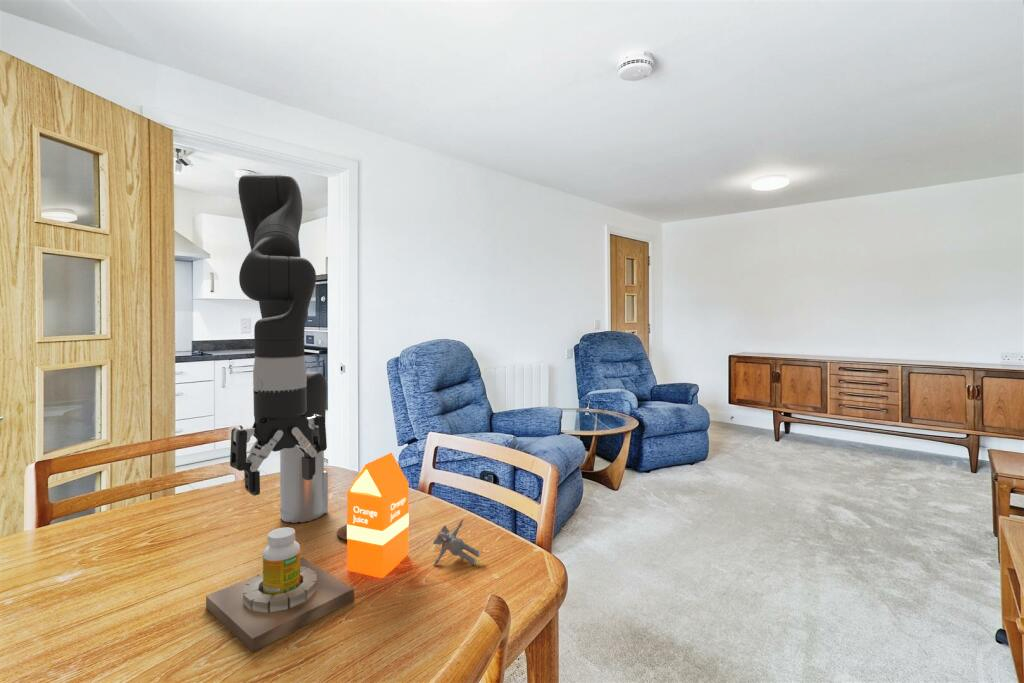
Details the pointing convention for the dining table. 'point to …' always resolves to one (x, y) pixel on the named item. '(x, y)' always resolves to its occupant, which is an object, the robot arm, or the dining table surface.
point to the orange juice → (377, 518)
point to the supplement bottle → (281, 562)
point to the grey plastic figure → (454, 545)
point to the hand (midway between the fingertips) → (281, 486)
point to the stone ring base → (277, 605)
